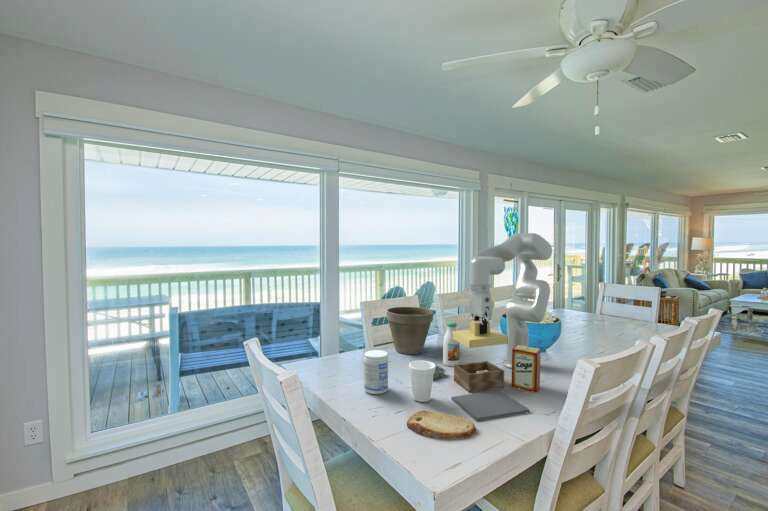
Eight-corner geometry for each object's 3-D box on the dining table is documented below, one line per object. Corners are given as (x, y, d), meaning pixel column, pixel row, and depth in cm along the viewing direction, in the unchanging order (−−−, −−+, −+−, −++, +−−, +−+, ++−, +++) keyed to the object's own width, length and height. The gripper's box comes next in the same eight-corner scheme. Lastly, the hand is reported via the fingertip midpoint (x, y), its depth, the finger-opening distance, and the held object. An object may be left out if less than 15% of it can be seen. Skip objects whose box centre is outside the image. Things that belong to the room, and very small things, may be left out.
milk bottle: (441, 365, 172) (441, 323, 171) (444, 360, 179) (445, 320, 178) (457, 367, 169) (458, 325, 168) (460, 362, 176) (461, 321, 175)
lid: (488, 334, 159) (488, 316, 158) (508, 343, 146) (508, 323, 145) (452, 338, 153) (452, 319, 153) (469, 348, 140) (469, 327, 140)
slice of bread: (481, 432, 113) (482, 421, 113) (438, 451, 103) (438, 438, 103) (442, 410, 128) (442, 399, 128) (401, 424, 118) (401, 412, 118)
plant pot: (434, 345, 204) (435, 307, 204) (430, 359, 180) (430, 316, 180) (391, 342, 210) (391, 305, 209) (381, 355, 186) (381, 313, 185)
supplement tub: (383, 396, 138) (383, 358, 137) (360, 393, 140) (360, 355, 140) (390, 386, 147) (391, 351, 146) (368, 383, 150) (369, 348, 149)
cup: (428, 407, 129) (428, 371, 128) (403, 401, 134) (404, 366, 133) (439, 397, 137) (440, 363, 137) (416, 391, 143) (416, 358, 142)
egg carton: (428, 382, 153) (428, 372, 153) (417, 376, 159) (417, 367, 159) (447, 376, 159) (447, 367, 159) (435, 371, 165) (435, 362, 165)
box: (486, 376, 158) (486, 361, 158) (503, 387, 147) (504, 370, 146) (453, 381, 153) (454, 364, 153) (468, 392, 142) (469, 374, 141)
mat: (499, 392, 142) (499, 389, 142) (529, 412, 126) (529, 409, 126) (451, 399, 136) (451, 396, 135) (476, 421, 119) (476, 418, 119)
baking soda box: (539, 386, 148) (540, 348, 147) (536, 392, 142) (537, 352, 142) (515, 381, 153) (516, 344, 152) (511, 386, 148) (512, 348, 147)
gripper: (500, 290, 141) (500, 337, 143) (476, 285, 157) (476, 326, 159) (483, 292, 139) (483, 339, 140) (461, 286, 155) (461, 328, 156)
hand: (480, 331), depth 149 cm, fingers closed on lid, 4 cm apart
